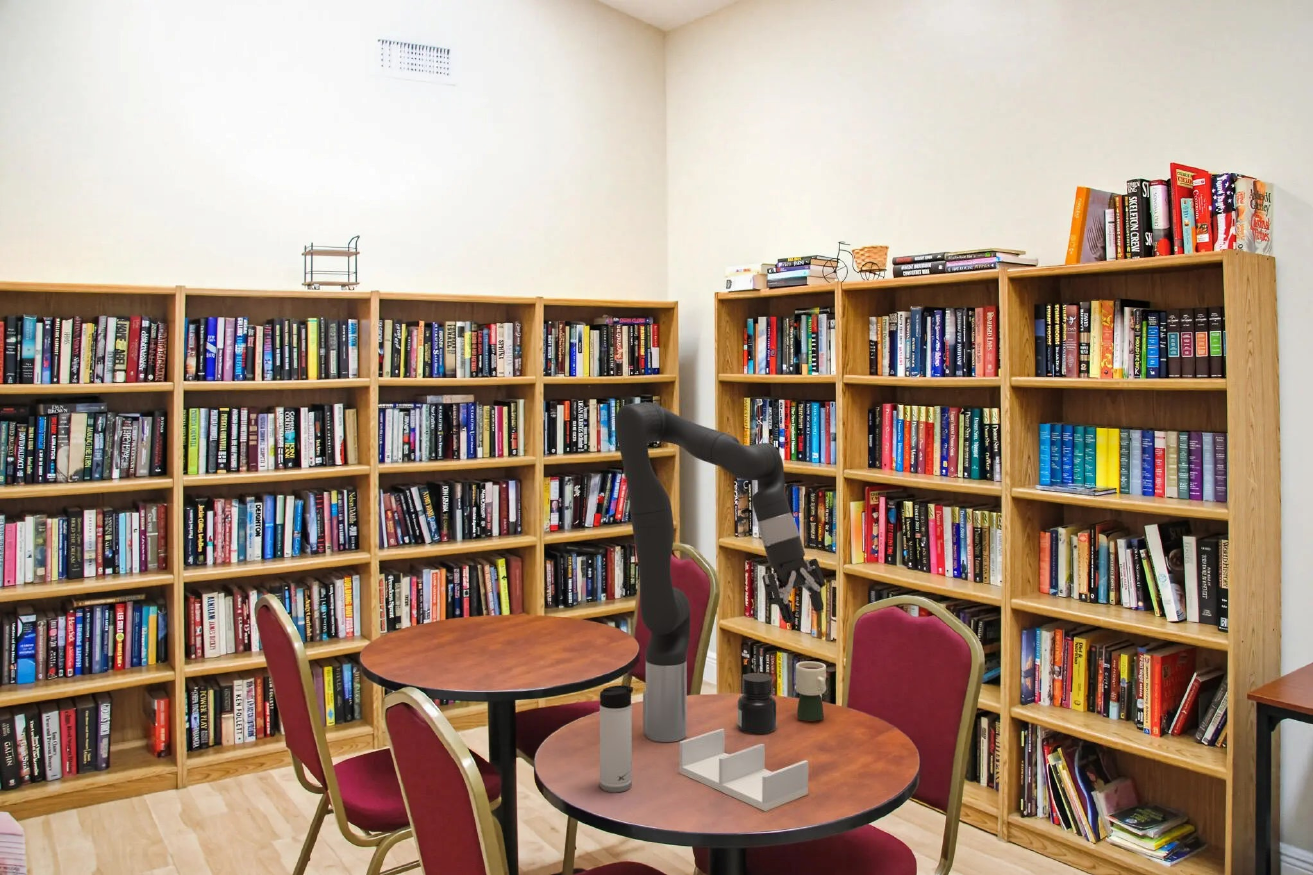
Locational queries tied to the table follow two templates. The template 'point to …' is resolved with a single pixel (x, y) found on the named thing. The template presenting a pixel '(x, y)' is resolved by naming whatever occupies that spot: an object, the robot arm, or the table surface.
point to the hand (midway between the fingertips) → (804, 616)
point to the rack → (741, 772)
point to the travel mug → (616, 738)
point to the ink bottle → (756, 704)
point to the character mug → (810, 689)
